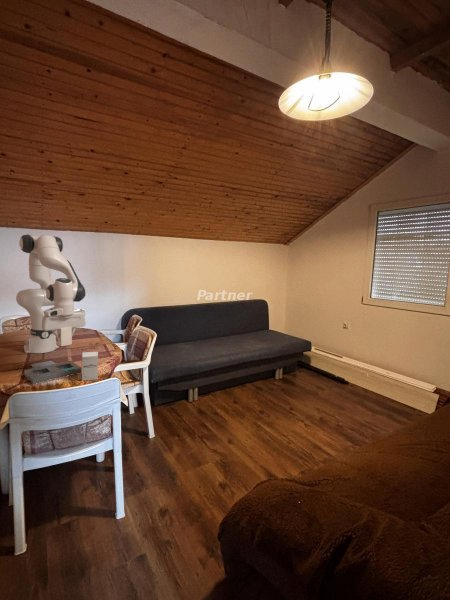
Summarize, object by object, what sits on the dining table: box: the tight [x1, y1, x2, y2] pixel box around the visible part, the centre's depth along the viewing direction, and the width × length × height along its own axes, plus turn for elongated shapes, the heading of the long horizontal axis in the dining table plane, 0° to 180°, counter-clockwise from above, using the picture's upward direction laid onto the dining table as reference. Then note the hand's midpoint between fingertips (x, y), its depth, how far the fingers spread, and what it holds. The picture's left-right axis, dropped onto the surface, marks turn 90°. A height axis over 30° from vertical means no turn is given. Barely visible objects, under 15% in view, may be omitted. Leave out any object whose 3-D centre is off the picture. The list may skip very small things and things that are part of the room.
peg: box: [57, 327, 73, 347], centre depth 154 cm, size 5×5×9 cm
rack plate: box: [23, 360, 82, 385], centre depth 152 cm, size 14×22×3 cm, turn 138°
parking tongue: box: [30, 360, 57, 368], centre depth 161 cm, size 9×10×1 cm
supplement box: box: [81, 351, 99, 382], centre depth 150 cm, size 7×7×13 cm
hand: (64, 336), depth 154 cm, fingers closed on peg, 5 cm apart
